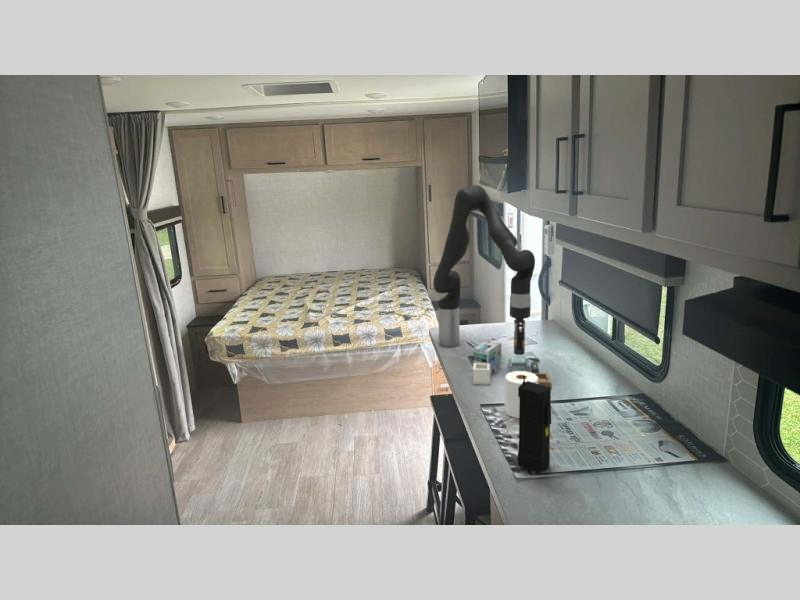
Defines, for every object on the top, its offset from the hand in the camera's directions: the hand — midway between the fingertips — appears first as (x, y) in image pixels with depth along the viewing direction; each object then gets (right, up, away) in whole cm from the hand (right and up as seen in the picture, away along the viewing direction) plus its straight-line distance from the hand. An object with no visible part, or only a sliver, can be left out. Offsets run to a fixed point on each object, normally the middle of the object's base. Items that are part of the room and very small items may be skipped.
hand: (519, 347), depth 197 cm
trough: (+4, -13, -9) cm, 16 cm away
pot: (-15, -12, -5) cm, 20 cm away
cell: (0, -2, +1) cm, 2 cm away
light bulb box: (-11, -10, +4) cm, 16 cm away
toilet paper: (-6, -18, -29) cm, 35 cm away
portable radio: (-9, -26, -59) cm, 65 cm away
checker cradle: (+2, -10, +2) cm, 10 cm away
